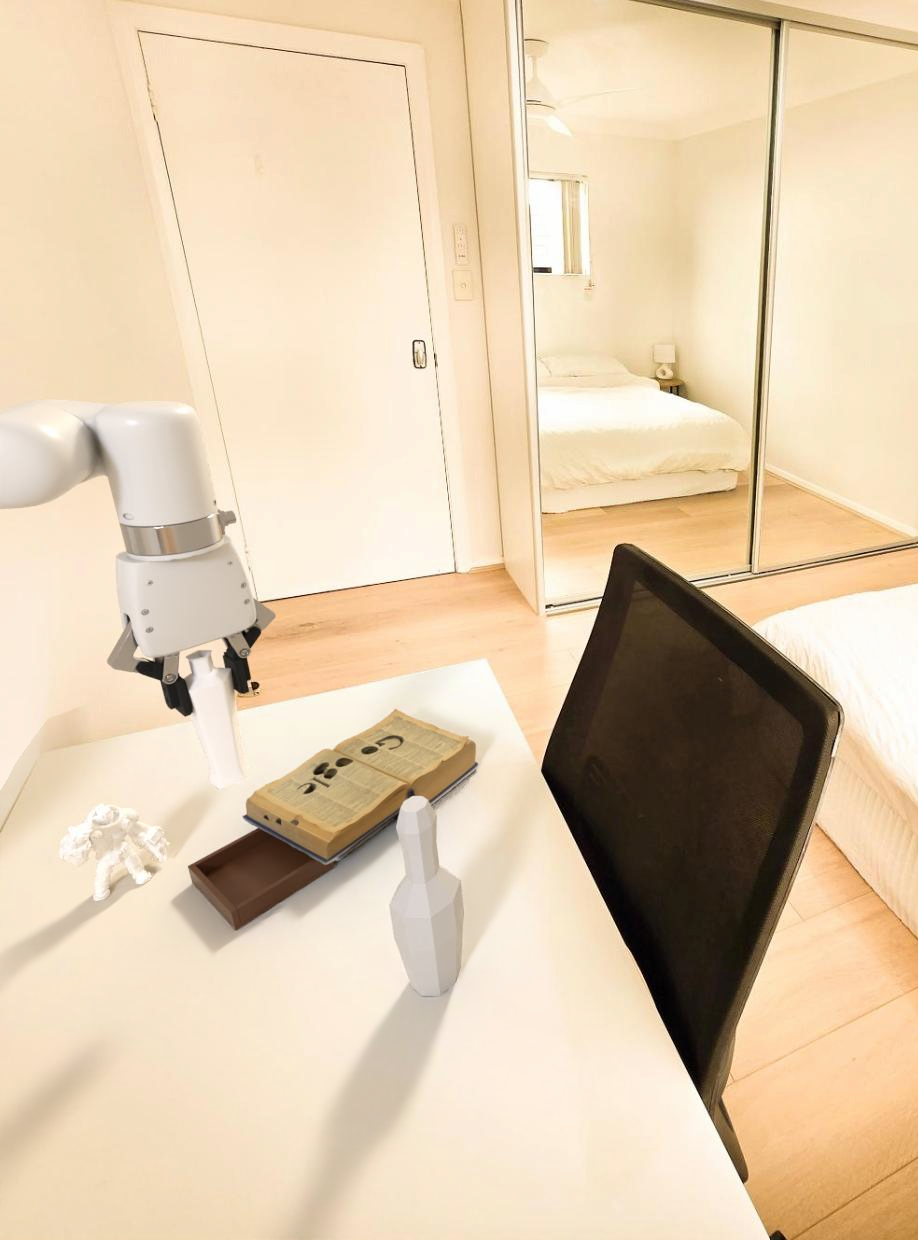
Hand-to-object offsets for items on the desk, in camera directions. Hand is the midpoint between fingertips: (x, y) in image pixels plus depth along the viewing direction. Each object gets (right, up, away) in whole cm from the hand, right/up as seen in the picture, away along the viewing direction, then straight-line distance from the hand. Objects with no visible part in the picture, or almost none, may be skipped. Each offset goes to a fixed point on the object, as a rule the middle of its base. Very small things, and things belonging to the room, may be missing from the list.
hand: (211, 698), depth 71 cm
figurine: (-17, -25, +10) cm, 32 cm away
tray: (-2, -24, +12) cm, 27 cm away
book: (+5, -20, +25) cm, 32 cm away
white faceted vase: (0, -9, +3) cm, 10 cm away
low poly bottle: (+23, -29, 0) cm, 37 cm away
